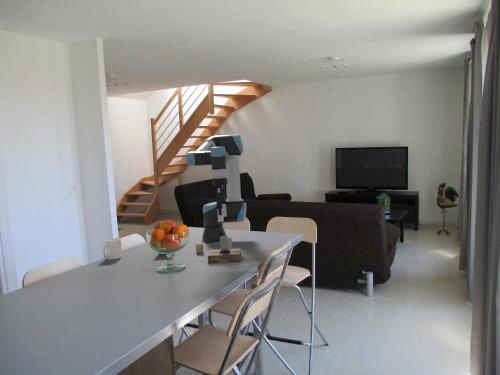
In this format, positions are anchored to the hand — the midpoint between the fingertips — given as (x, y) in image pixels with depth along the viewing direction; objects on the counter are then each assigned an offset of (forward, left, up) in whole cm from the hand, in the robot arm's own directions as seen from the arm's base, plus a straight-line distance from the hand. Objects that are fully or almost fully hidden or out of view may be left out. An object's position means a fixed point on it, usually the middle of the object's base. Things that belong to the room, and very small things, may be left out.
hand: (222, 219), depth 208 cm
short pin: (-15, -16, -21) cm, 30 cm away
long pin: (+1, 0, -21) cm, 21 cm away
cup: (-11, -64, -21) cm, 68 cm away
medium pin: (-15, 0, -21) cm, 26 cm away
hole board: (+1, 0, -21) cm, 21 cm away
